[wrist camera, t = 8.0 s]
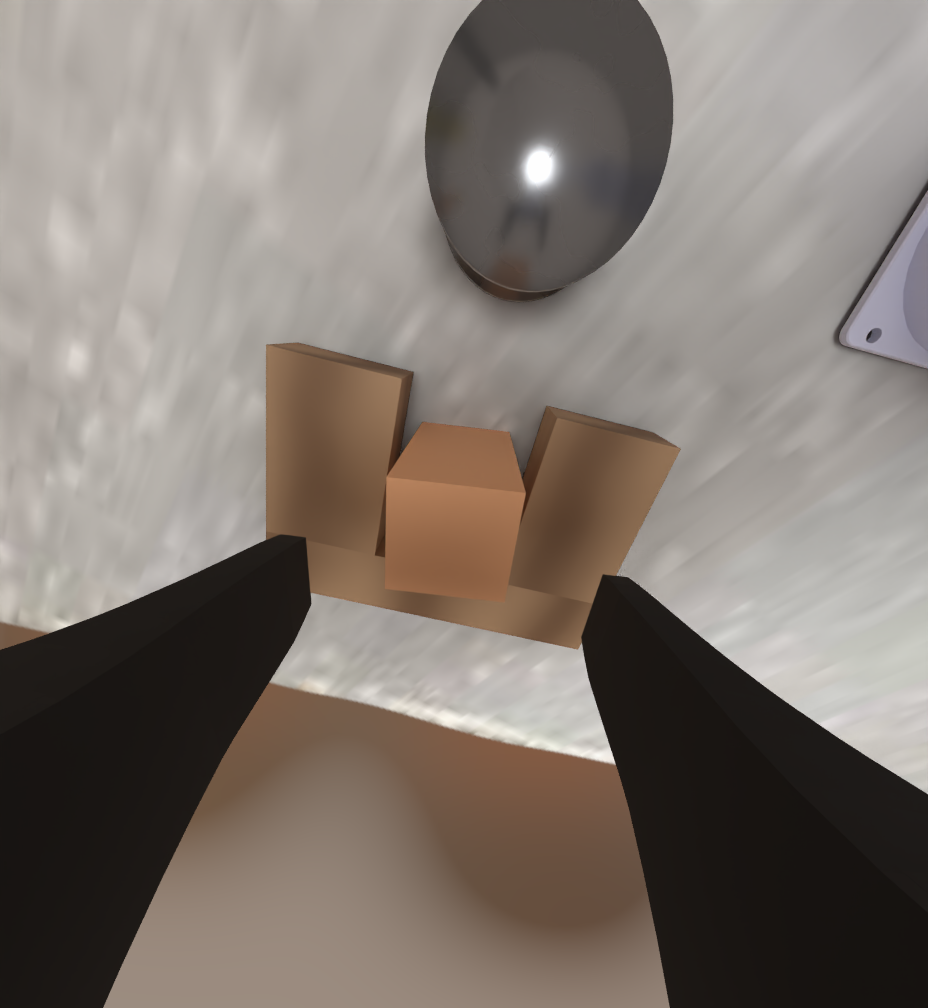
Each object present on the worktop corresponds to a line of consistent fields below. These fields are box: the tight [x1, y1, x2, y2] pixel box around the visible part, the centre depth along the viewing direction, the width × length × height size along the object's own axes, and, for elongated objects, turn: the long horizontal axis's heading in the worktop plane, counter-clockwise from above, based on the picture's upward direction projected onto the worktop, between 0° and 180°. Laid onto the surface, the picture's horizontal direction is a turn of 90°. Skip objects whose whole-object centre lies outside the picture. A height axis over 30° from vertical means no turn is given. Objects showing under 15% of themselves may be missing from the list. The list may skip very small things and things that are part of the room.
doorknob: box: [425, 0, 673, 302], centre depth 11 cm, size 6×6×5 cm
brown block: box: [385, 422, 526, 602], centre depth 14 cm, size 4×4×7 cm
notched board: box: [266, 343, 680, 649], centre depth 17 cm, size 16×11×2 cm
